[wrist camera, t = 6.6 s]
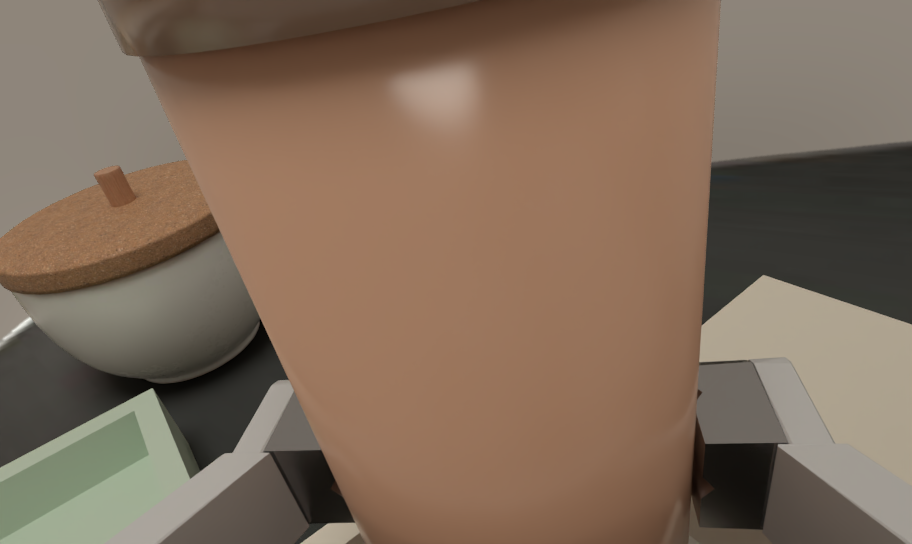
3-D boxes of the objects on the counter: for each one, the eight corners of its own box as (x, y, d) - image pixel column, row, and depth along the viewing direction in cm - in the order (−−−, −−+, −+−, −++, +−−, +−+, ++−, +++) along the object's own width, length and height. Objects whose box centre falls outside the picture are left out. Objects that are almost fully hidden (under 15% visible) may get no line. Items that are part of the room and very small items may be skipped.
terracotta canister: (553, 511, 16) (458, -115, 8) (737, 676, 12) (900, -247, 4) (394, 653, 13) (44, -39, 6) (558, 917, 9) (144, -172, 2)
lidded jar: (342, 286, 30) (282, 118, 25) (206, 441, 22) (81, 236, 17) (196, 277, 35) (121, 131, 30) (37, 404, 26) (-102, 231, 22)
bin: (750, 282, 24) (758, 210, 22) (1075, 396, 17) (1127, 303, 15) (267, 678, 14) (211, 608, 13) (541, 1358, 7) (504, 1426, 5)
